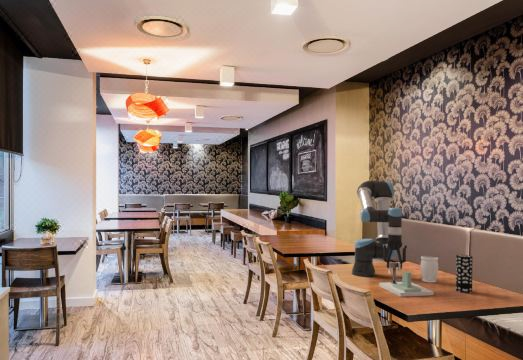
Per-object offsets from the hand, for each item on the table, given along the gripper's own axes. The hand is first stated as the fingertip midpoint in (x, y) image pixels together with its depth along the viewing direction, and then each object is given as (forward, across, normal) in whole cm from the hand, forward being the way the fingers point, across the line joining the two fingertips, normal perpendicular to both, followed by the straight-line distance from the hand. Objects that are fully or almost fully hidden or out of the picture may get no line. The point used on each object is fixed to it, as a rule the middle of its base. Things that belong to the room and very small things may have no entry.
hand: (394, 274), depth 241 cm
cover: (+6, +4, -12) cm, 14 cm away
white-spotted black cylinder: (+8, +38, -3) cm, 39 cm away
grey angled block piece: (+5, +3, -2) cm, 6 cm away
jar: (+8, +25, +19) cm, 33 cm away
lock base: (+8, +5, -8) cm, 12 cm away
